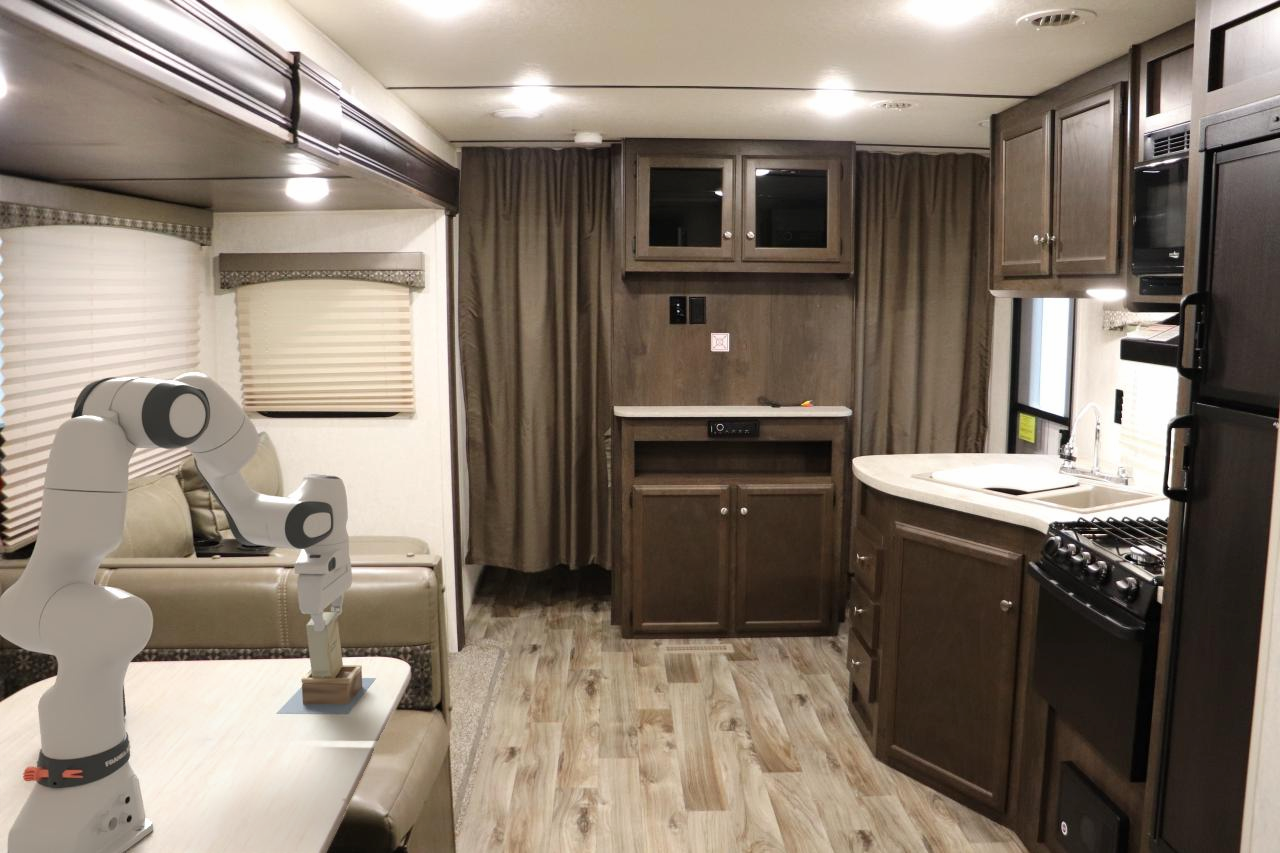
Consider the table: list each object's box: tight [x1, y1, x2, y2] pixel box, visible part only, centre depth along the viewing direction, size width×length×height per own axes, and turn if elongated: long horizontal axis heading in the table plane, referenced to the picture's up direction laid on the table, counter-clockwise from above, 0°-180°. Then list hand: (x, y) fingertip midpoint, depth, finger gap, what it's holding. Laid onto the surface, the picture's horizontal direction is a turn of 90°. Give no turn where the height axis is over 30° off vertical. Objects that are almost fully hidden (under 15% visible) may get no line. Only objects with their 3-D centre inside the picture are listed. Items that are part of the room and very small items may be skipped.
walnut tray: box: [301, 664, 363, 704], centre depth 201 cm, size 9×10×5 cm
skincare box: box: [305, 611, 344, 678], centre depth 200 cm, size 6×4×12 cm
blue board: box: [276, 677, 377, 715], centre depth 202 cm, size 18×14×1 cm
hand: (328, 622), depth 199 cm, fingers open, 8 cm apart
